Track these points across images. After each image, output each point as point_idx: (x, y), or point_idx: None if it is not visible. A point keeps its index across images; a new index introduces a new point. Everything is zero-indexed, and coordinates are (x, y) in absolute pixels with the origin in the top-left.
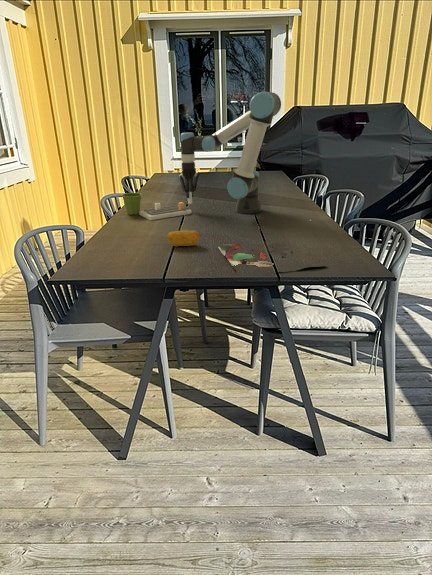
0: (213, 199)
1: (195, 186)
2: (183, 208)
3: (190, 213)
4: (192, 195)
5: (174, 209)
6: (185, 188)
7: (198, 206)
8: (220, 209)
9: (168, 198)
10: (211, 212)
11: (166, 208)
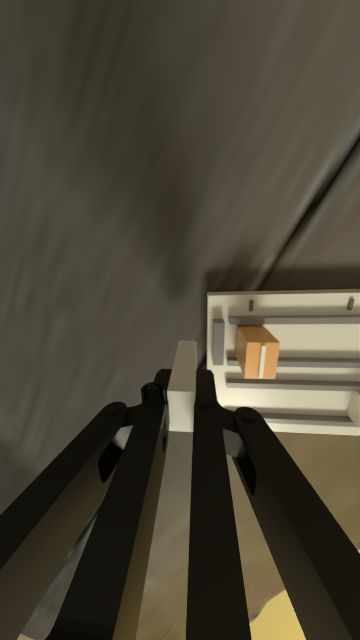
0: (15, 455)
1: (85, 445)
2: (247, 327)
3: (212, 292)
4: (161, 378)
5: (286, 358)
6: (259, 445)
7: (112, 397)
8: (33, 285)
9: (165, 548)
10: (98, 251)
11: (324, 389)
